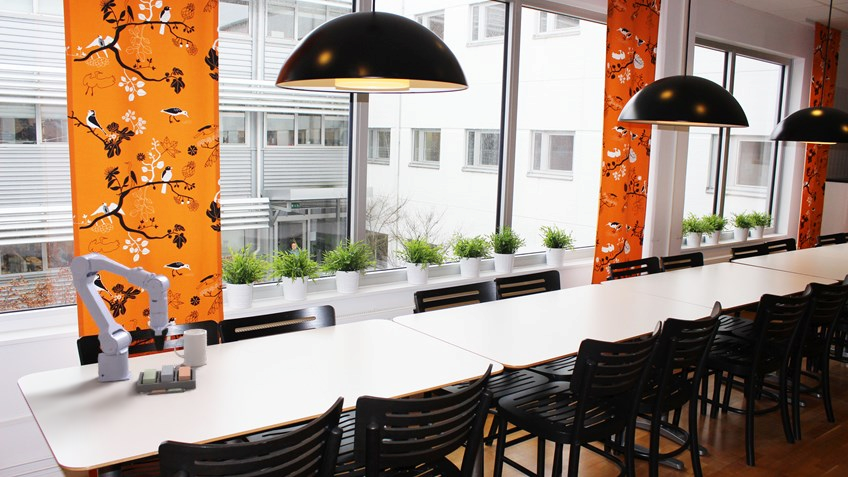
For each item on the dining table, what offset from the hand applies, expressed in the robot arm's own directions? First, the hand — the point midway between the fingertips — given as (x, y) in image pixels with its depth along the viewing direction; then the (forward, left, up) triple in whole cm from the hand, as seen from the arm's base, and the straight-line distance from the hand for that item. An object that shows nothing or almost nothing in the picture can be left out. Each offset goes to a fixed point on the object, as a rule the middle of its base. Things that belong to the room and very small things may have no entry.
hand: (159, 350), depth 227 cm
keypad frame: (+2, -5, -10) cm, 12 cm away
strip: (+2, -13, -10) cm, 17 cm away
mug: (+10, +15, -11) cm, 21 cm away
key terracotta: (+8, -5, -10) cm, 14 cm away
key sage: (-3, -5, -10) cm, 11 cm away
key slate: (+2, -5, -9) cm, 10 cm away
